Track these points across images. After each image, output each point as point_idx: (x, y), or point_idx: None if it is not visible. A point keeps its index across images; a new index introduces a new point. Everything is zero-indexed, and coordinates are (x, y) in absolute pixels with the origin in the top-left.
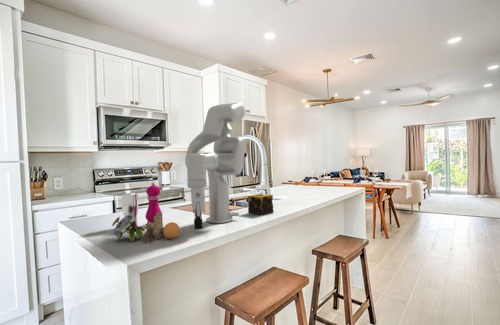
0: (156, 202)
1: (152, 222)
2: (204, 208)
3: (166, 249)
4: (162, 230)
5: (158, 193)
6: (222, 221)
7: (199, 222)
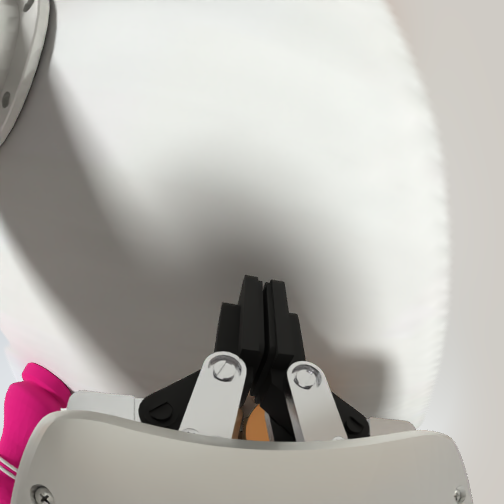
0: (19, 457)
1: (61, 404)
2: (465, 471)
3: (404, 400)
4: (236, 438)
5: (4, 485)
6: (38, 32)
7: (301, 353)
